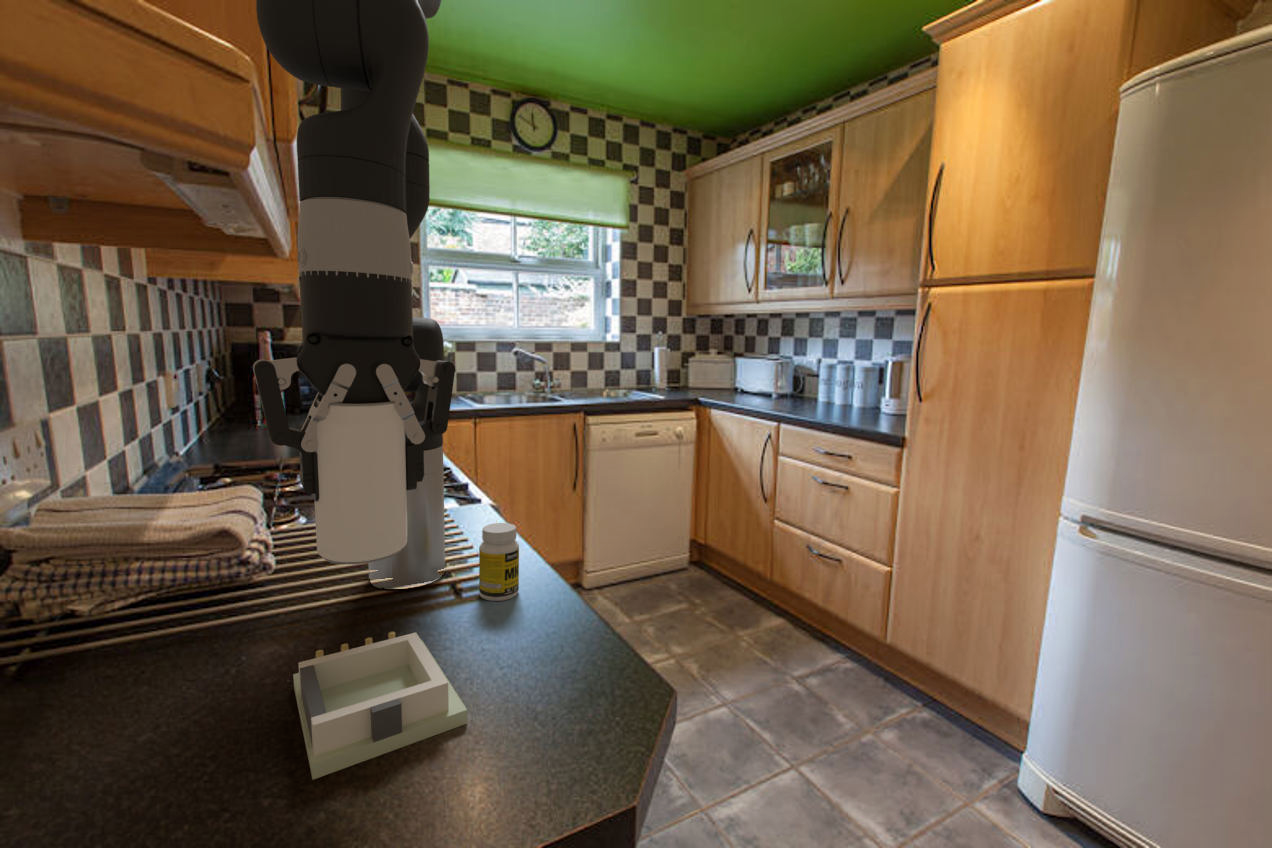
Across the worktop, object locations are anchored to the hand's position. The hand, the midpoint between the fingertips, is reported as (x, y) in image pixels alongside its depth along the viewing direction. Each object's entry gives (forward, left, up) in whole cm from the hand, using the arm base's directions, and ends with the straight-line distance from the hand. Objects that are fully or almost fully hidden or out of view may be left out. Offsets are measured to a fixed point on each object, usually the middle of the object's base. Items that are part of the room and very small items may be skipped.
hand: (365, 492), depth 45 cm
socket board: (-1, 0, -19) cm, 19 cm away
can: (0, 0, -5) cm, 5 cm away
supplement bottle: (-16, +17, -19) cm, 30 cm away
